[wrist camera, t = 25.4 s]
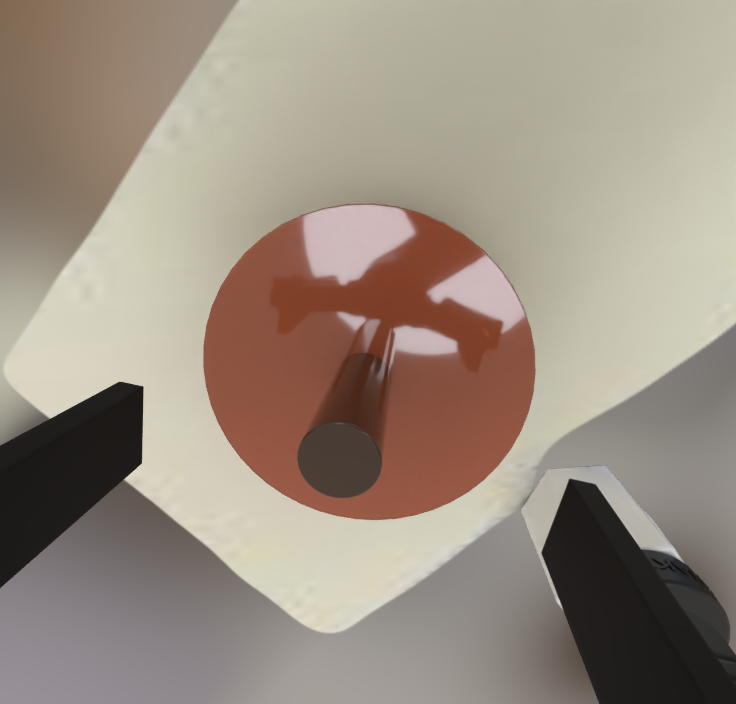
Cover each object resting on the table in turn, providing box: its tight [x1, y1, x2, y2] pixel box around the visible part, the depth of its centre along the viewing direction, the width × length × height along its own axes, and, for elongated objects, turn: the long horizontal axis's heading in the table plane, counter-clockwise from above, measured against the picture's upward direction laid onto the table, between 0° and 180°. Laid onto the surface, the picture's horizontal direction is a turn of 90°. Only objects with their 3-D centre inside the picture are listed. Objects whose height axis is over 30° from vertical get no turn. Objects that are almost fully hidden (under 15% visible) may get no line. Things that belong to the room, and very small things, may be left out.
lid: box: [204, 204, 535, 520], centre depth 18 cm, size 17×17×9 cm
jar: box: [521, 465, 730, 644], centre depth 30 cm, size 9×8×12 cm
